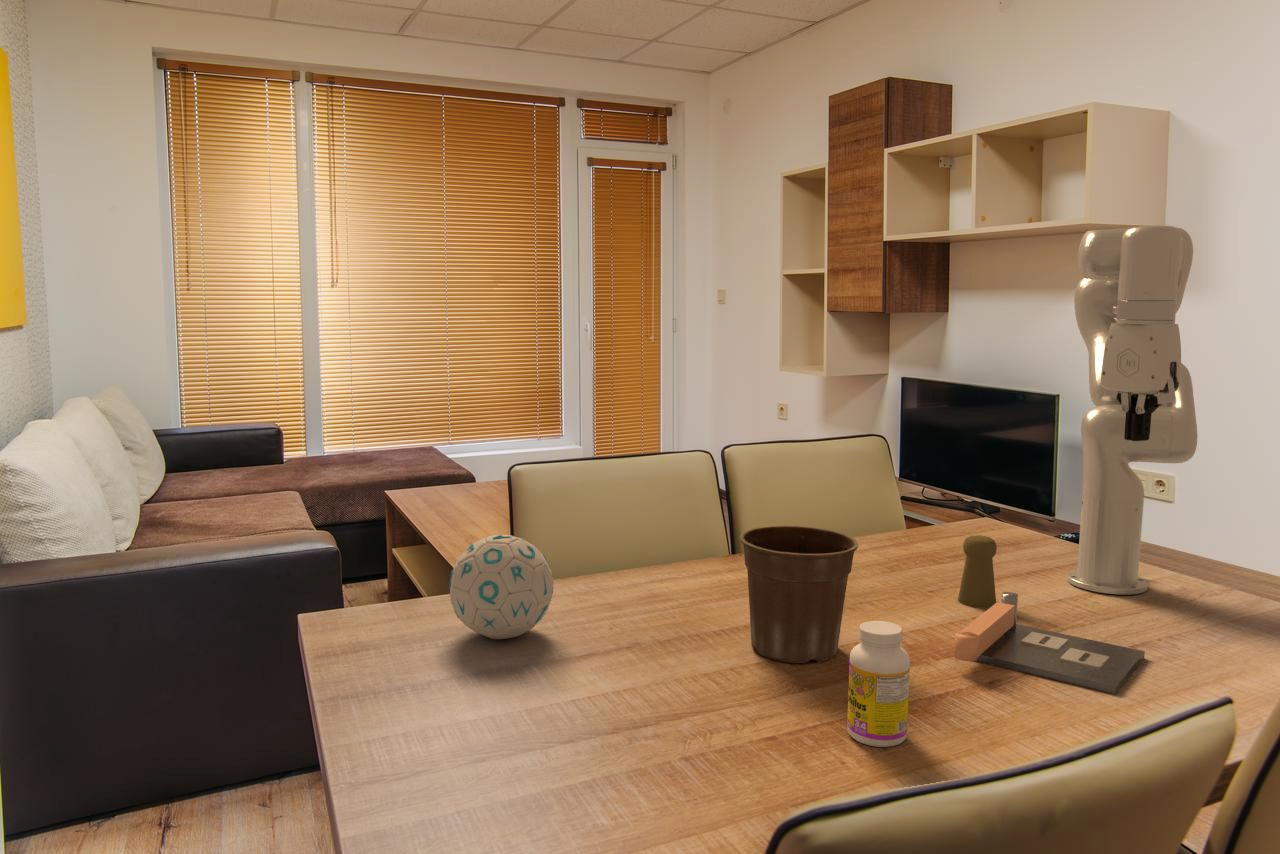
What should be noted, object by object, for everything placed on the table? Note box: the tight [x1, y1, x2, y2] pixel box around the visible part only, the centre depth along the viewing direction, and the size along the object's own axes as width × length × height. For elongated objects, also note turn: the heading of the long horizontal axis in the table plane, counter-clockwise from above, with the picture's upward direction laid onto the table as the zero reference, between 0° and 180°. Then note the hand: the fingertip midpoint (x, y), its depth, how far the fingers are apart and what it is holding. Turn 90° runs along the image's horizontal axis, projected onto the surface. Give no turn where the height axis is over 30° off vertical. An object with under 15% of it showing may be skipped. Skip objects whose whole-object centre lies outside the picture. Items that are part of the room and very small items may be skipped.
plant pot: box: [739, 525, 859, 664], centre depth 134 cm, size 16×16×16 cm
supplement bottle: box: [846, 620, 911, 748], centre depth 107 cm, size 7×7×13 cm
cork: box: [957, 534, 998, 609], centre depth 156 cm, size 6×6×11 cm
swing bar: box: [953, 601, 1015, 662], centre depth 132 cm, size 18×3×3 cm, turn 142°
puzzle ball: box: [448, 534, 554, 640], centre depth 139 cm, size 15×15×15 cm
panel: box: [975, 591, 1146, 695], centre depth 131 cm, size 16×20×6 cm
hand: (1136, 439), depth 139 cm, fingers closed
